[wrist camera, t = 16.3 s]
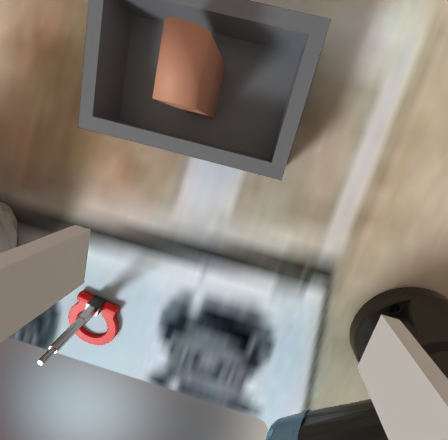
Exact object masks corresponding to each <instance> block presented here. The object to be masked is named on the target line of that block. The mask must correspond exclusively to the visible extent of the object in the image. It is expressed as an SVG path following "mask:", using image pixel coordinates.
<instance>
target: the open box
mask: <svg viewBox="0 0 448 440" xmlns="http://www.w3.org/2000/svg"><path fill="white" fill-rule="evenodd" d="M168 17H176V18H182V19H185V20H189V21H192V22H194V23H197V24H199V25H201V26H203V27H204V28H206V29H207V30H208V31H210V33H211V34H212V36H213V38H214V41H215V43H216V45H217V47H218V49H219V52H220V54H221V56H222V58H223V60H224V63H225V65H226V67H225V72H224V77H223V81H222V86H221V90H220V95H219V99H218V104H217V109H216V113H215V118H210V117H207V116H203V115H199V114H195V113H191V112H187V111H183V110H180V109H178V108H175V107H173V106H170V105H168V104H165V103H163V102H160V101H158V100H155V99H153V98H152V97H153V91H154V84H155V77H156V71H157V64H158V58H159V51H160V45H161V38H162V32H163V25H164V19H165V18H168ZM330 20H331V19H328V18H324V17H319V16H315V15H310V14H306V13H302V12H297V11H293V10H288V9H284V8H280V7H275V6H271V5H266V4H262V3H258V2H253V1H249V0H89V1H88V14H87V26H86V38H85V51H84V63H83V75H82V88H81V100H80V113H79V125H78V127H79V128H83V129H87V130H91V131H95V132H99V133H102V134H106V135H110V136H114V137H118V138H122V139H125V140H129V141H133V142H137V143H141V144H145V145H148V146H152V147H156V148H160V149H164V150H168V151H171V152H175V153H179V154H183V155H187V156H191V157H194V158H198V159H202V160H206V161H210V162H213V163H217V164H221V165H225V166H229V167H233V168H236V169H240V170H244V171H248V172H252V173H256V174H259V175H263V176H267V177H271V178H275V179H279V180H282V177H283V174H284V170H285V167H286V164H287V161H288V157H289V154H290V151H291V148H292V144H293V141H294V138H295V135H296V131H297V128H298V125H299V121H300V118H301V115H302V112H303V108H304V105H305V102H306V99H307V95H308V92H309V89H310V86H311V82H312V79H313V76H314V72H315V69H316V66H317V63H318V59H319V56H320V53H321V50H322V46H323V43H324V40H325V37H326V33H327V30H328V27H329V24H330Z"/></svg>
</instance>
